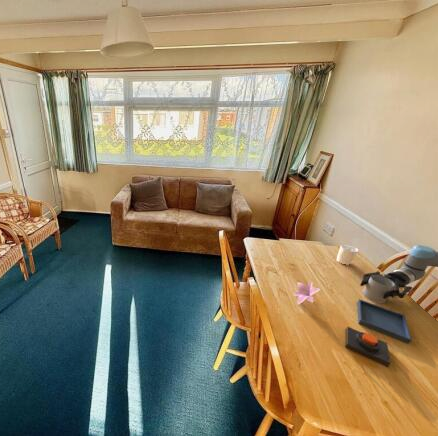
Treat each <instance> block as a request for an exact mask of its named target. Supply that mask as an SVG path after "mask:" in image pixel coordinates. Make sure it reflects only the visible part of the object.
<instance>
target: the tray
mask: <svg viewBox="0 0 438 436" xmlns="http://www.w3.org/2000/svg"><path fill="white" fill-rule="evenodd" d="M356 309H357V310H356V311H357V324H358V325H360V326H363V327H365V328H367V329H370V330H373V331H375V332H378V333H381V334H383V335H385V336H388V337H390V338H393V339H394V340H398V341H400V342H403V343H406V344H408V345H409V344H410V343H411V342H412V336H411V333H410V332H411V331H410V330H409V326H408V322H407V319H406V316H405V314H402V313H400V312H397V311H395V310H391V309H388V308H385V307H382V306H380V305H377V304H374V303H372V302H369V301H366V300H363V299H360V298H358V300H357V302H356Z"/></svg>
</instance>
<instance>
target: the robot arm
mask: <svg viewBox="0 0 438 436" xmlns="http://www.w3.org/2000/svg"><path fill="white" fill-rule="evenodd" d="M428 267H435V268H438V251H436V250H435V249H434V248H432V247H430V246H427V245H421V244H416V245H414V246H413V247H412V248H411V250H410V252H409V253H408V256H407V257H406V259H405V261H404V262H403V263H402V265H401V267H400V268H397V269H395V270H393V271H391V272H388V273H386V274H385V273H384V274H383V273H381V271H380V270H377V271H375V272H368V273H364V274H363V276H362V281H361V282H360V284H359V286H360V287H365V286H366V285H367V283H368V281H369V279H370V277H371V275H379V276H383V277H385V278H388V279H390V280H391V281H393V283H394V284H395V285H394V287H393V289H392V291H389V292H387V293H385V295H384V296H383V298H384V299H386V298H387V299H388V298H390V297H391V298H395V297H399V298H400V299H402V300H403V299H404V298H405V296H406V294H407V293H410V292H411V291H412V289H413V287H412V286H407V285H409V284H411V283H414V282H416V281H419V280H421V279H423V277H425V275H426V270H427V268H428ZM400 288H401V289H403V290H402V292H401V290H400ZM387 299H386V300H387Z"/></svg>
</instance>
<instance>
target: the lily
mask: <svg viewBox="0 0 438 436" xmlns="http://www.w3.org/2000/svg"><path fill="white" fill-rule="evenodd" d="M313 283H314V282H313V281H310V282H308V284H304V283H302V282H300V281H299V282H297V289H298V291H295V293H294V294H293V296H295V297H297V305H298V306H299V305H301V304H302V303H303V302H304V301H305V300H307V301H308V302H311V303H314V297H313V295H315V294H316V293H318V292H319V291H321V288H319V287H315V286H313Z"/></svg>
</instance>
